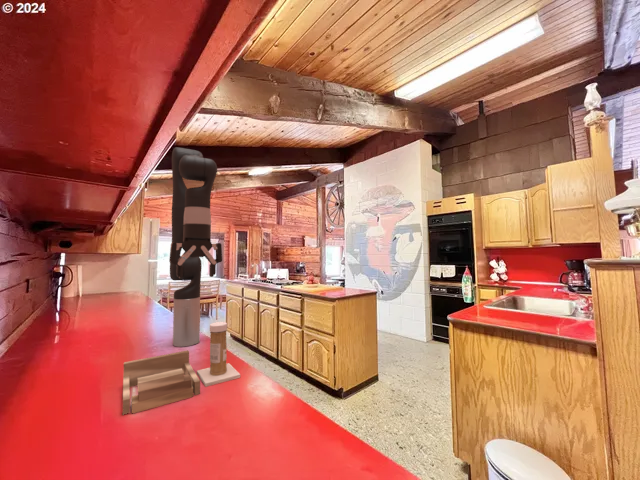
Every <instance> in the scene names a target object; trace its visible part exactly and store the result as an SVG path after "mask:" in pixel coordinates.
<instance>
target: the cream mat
mask: <svg viewBox="0 0 640 480" xmlns="http://www.w3.org/2000/svg"><path fill="white" fill-rule="evenodd" d="M226 368H227V371H226V372H225V373H223V374H220V375H212V374H210V367H207V368H202V369H198V370H196V375H197V377H198V378H199V380H200V382H202V383H203V384H202V385H204V387H205V388H207V387H209V386H213V385H217V384H221V383H225V382H230V381H232V380H235V379H240V378H241V373H240V372H239V371H238V370H236V368H235V367H233V365H232V364H231V363H229V362H228V363H227V362H226Z"/></svg>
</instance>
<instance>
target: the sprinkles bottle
mask: <svg viewBox="0 0 640 480" xmlns="http://www.w3.org/2000/svg"><path fill="white" fill-rule="evenodd" d="M227 329H228V323H227V322H225V321H217V322H212V323H210V324H209V333H210V342H209V366H210V367H209V368H210V374H212V375H220V374H223V373H225V372H226V371H227V368H226V364H227V359H228V355H227V347H228V346H227Z"/></svg>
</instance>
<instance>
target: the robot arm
mask: <svg viewBox="0 0 640 480" xmlns="http://www.w3.org/2000/svg"><path fill="white" fill-rule="evenodd" d="M171 171H172V173H171V174H172V175H171V176H172V198H171V199H172V200H171V201H172V202H171V244H170V249H169V250H170V251H169V258H168V259H169V277H170V279H171V280H172V281H188V280H189V281H190V282H189V283H188V284H187V285H185V286H183V287H182V288H179V289H176V290H175V291H174V292H173V315H172V316H173V320H172V322H173V327H172V345H173V346H174V347H177V348H178V347H180V348H182V347H190V346H193V345H196V344H198V343H200V339H201V338H200V335H201V334H200V333H201V278H202V260H201V258H204V257H205V259H206V260H207V261H208V263H210V264H209V271H208V272H209V273H208V274H209V278H213V277H214V276H215V275H216V271H217V270H216V269H217V268H216V266H217V264H218V263H222V262H223V252H222V251H223V250H222V249H223V247H222V243H221V242H217V243H212V239H211V238H212V236H211V234H212V233H211V232H212V230H211V228H212V215H211V214H212V213H211V198H212V197H211V195H212V191H213V186H214V183H215V180H216V177H217V174H218V166H217V163H216V162H215V160H214V159H212V158H206V157H204V155H203V153H202V152H201V151H199V150H195V149H190V148H185V147H179V146H178V147H177V146H176V147H173V150H172V153H171ZM184 180H188V181H196V182H197V181H198V182H203V185H201V186H198V187H196V186H195V187H189V188H187V185H186V183H185V181H184ZM212 248H213V250H214V251H215V258H214V257H213V255H212V253H211V252H210V250H211V249H212ZM182 250H183V251H184V252H183V253H182ZM181 253H182V255H181Z"/></svg>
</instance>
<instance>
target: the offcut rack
mask: <svg viewBox="0 0 640 480" xmlns="http://www.w3.org/2000/svg"><path fill="white" fill-rule="evenodd" d="M122 377H123V380H122V416H124V414H126V415H128V414H127V413H129V414H130V410H131V414H132V413H133V414H136V413H140V412H143V411H147V410H151V409H154V408H157V407H162V406H165V405H168V404H172V403H174V402H175V403H176V402H178V401H183V400H186V399H190V398H194V396H197V395H201V379H200V377H199V376H198V374H197V372H196V371H195V370H194V369H193V367H192V365H191V364H190V351H189V350H187V349H186V350H183V351H177V352H172V353H167V354H162V355H157V356H156V355H155V356H151V357H147V358H146V357H145V358H140V359H134V360H129V361H124V362H123V374H122ZM132 387H137V394H136V395H131V397H130V393H131V391H130V388H132ZM130 405H131V406H130ZM130 407H131V408H130Z"/></svg>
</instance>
